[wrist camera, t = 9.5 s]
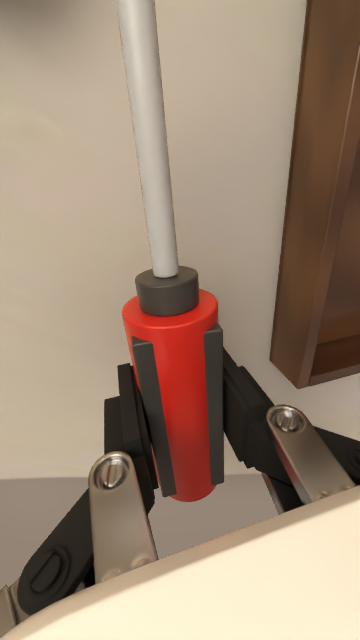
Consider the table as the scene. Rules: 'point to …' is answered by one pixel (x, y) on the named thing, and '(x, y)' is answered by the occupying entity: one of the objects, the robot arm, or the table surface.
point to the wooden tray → (322, 206)
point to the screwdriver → (169, 297)
